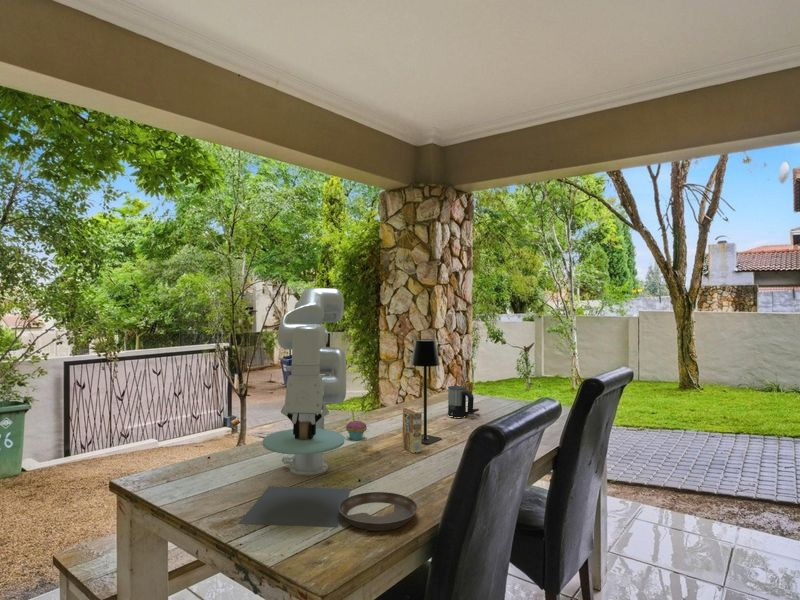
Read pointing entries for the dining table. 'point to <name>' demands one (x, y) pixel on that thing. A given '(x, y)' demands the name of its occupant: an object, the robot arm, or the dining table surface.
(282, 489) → the mat
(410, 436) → the candy box
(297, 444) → the lid
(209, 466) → the dining table surface
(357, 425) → the cupcake
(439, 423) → the dining table surface
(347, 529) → the dining table surface
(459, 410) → the milk frother
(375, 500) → the plant saucer
